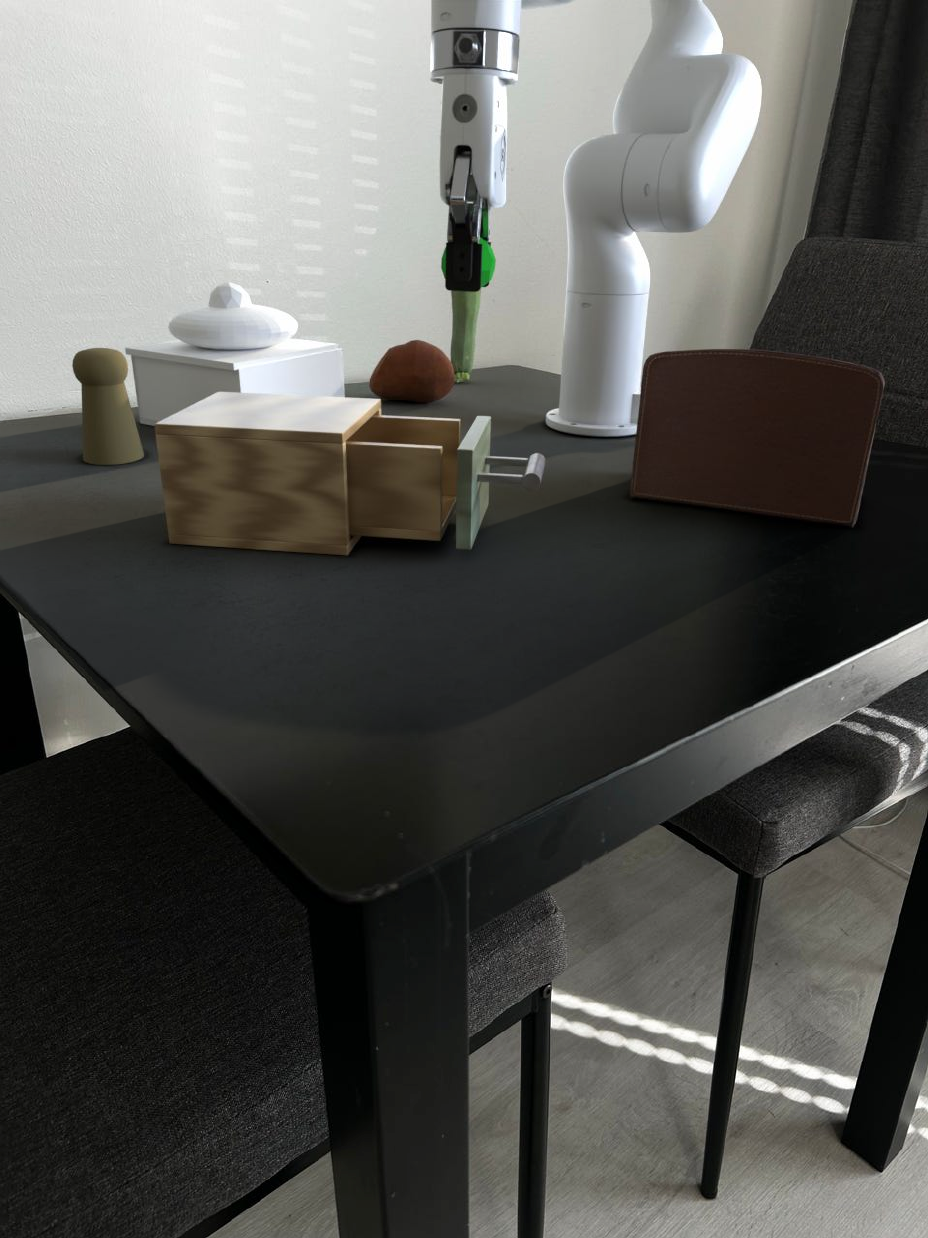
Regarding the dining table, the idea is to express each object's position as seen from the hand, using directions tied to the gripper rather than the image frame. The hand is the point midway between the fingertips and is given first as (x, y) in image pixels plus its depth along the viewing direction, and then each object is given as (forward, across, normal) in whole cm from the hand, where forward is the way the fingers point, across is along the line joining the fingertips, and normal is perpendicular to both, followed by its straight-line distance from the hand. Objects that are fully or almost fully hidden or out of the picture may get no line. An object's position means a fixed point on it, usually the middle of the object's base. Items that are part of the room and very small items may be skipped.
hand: (467, 286), depth 85 cm
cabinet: (+18, -18, +12) cm, 29 cm away
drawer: (+17, -18, 0) cm, 25 cm away
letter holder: (+18, -3, -27) cm, 33 cm away
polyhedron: (+1, 0, 0) cm, 1 cm away
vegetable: (+17, +49, +7) cm, 52 cm away
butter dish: (+18, +17, +30) cm, 39 cm away
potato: (+17, +34, +12) cm, 40 cm away
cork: (+18, -2, +37) cm, 41 cm away
